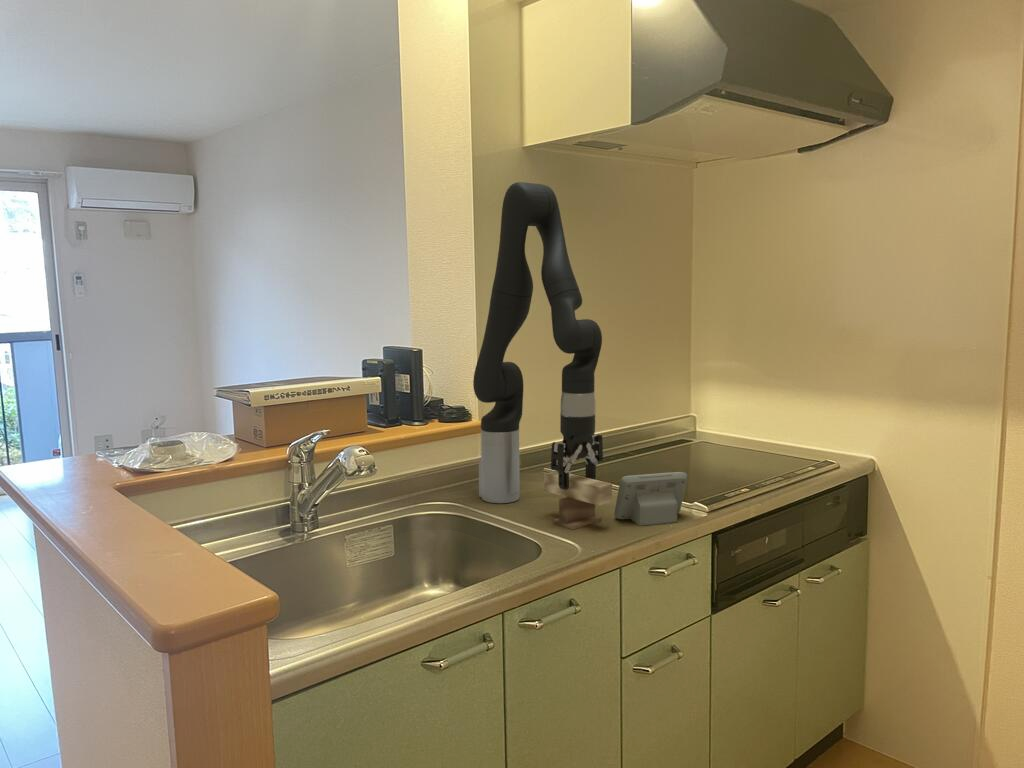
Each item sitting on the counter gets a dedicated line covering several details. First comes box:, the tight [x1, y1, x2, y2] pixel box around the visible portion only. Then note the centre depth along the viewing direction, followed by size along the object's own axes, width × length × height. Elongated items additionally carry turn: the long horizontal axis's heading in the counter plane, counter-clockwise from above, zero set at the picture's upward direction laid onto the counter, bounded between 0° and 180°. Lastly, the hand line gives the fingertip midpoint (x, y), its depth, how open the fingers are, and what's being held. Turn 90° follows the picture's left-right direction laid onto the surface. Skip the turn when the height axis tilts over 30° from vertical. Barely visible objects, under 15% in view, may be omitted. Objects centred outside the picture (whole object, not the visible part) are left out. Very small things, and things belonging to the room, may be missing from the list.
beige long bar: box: [544, 470, 613, 506], centre depth 170 cm, size 16×4×4 cm, turn 44°
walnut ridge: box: [552, 496, 602, 530], centre depth 171 cm, size 6×9×6 cm, turn 133°
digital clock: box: [613, 471, 688, 527], centre depth 172 cm, size 16×9×11 cm, turn 94°
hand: (577, 485), depth 170 cm, fingers open, 8 cm apart
